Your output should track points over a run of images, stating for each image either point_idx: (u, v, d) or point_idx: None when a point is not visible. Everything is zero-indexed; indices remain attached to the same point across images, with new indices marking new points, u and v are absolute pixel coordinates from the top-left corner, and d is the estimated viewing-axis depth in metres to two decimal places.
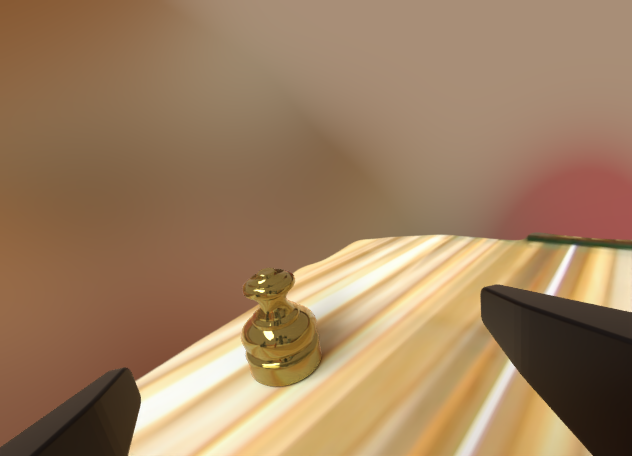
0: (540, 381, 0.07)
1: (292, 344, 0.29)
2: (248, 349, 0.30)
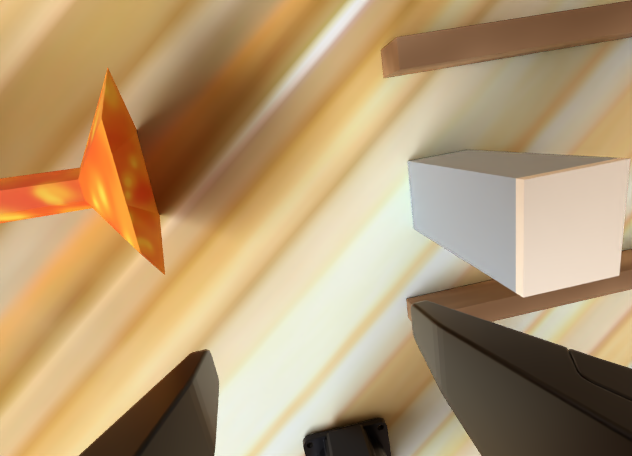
0: (456, 402, 0.07)
1: None
2: None
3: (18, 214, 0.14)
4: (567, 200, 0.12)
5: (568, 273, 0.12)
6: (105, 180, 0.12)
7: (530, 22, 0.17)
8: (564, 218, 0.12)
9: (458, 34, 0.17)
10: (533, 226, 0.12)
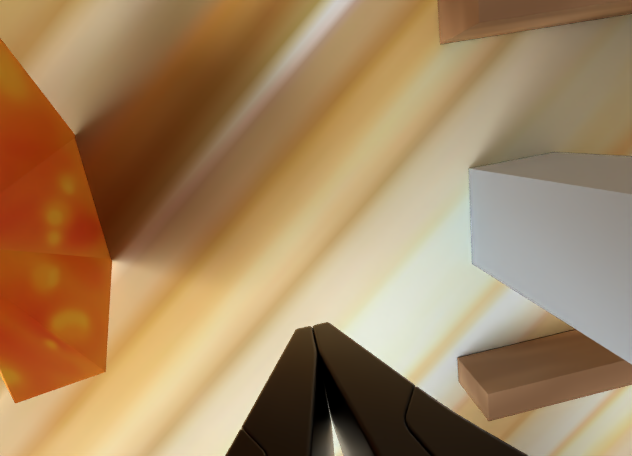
0: (338, 431, 0.07)
1: None
2: None
3: None
4: None
5: None
6: None
7: None
8: None
9: None
10: None
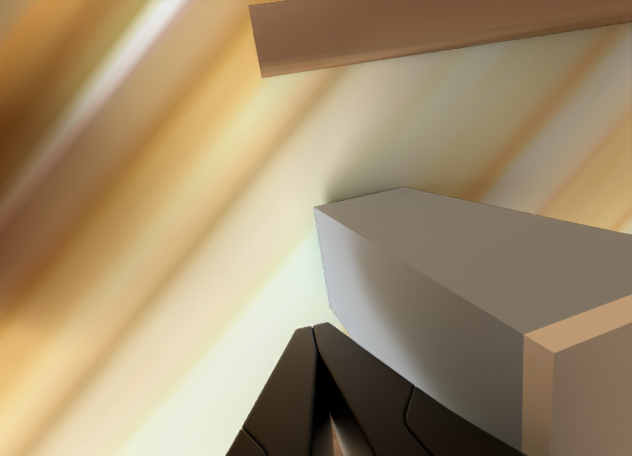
0: (337, 432, 0.07)
1: None
2: None
3: None
4: None
5: None
6: None
7: None
8: None
9: (360, 3, 0.10)
10: None
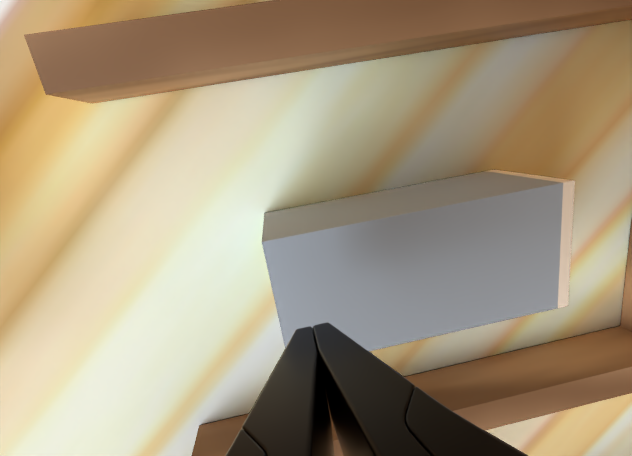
0: (338, 432, 0.07)
1: None
2: None
3: None
4: None
5: None
6: None
7: (291, 9, 0.10)
8: None
9: (151, 30, 0.09)
10: None
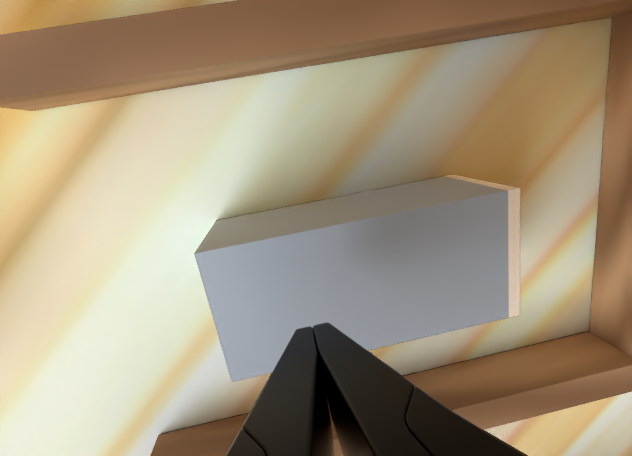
0: (337, 431, 0.07)
1: None
2: None
3: None
4: None
5: None
6: None
7: (221, 15, 0.09)
8: None
9: (75, 37, 0.09)
10: None
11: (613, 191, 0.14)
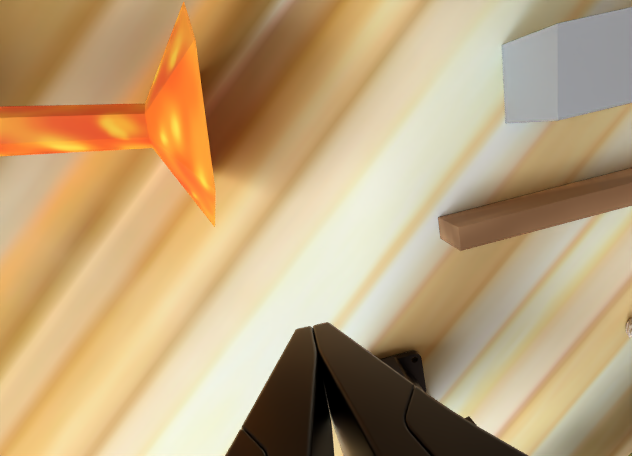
0: (338, 431, 0.07)
1: None
2: None
3: (79, 144, 0.13)
4: None
5: None
6: (184, 110, 0.12)
7: None
8: None
9: None
10: None
11: None
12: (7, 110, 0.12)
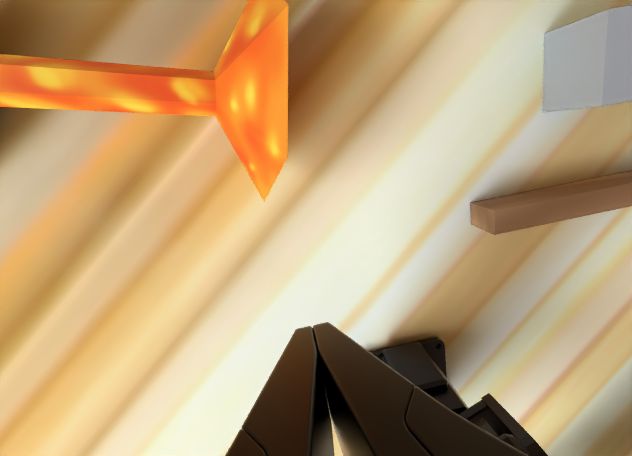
0: (337, 431, 0.07)
1: None
2: None
3: (149, 105, 0.13)
4: None
5: None
6: (264, 76, 0.12)
7: None
8: None
9: None
10: None
11: None
12: (84, 64, 0.13)
